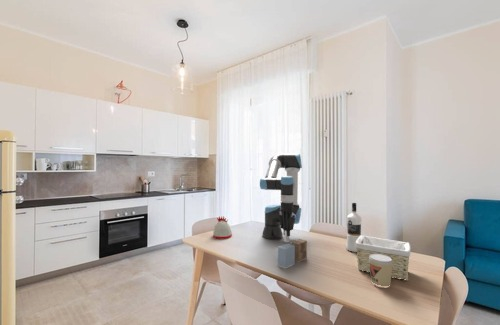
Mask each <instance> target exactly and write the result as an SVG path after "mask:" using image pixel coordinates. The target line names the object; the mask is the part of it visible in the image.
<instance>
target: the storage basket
mask: <svg viewBox="0 0 500 325" xmlns="http://www.w3.org/2000/svg"><path fill="white" fill-rule="evenodd" d="M355 244H356V249H357V253H356V259H357V269H359V270H358V271H360V270H363V271H368V272H367V273H369V272H370V259H369V257H370V255H371V254H381V255H385V256H388V257H390V258H391V259H392V261H393V263H392V273H391V277H396V278H401V279H406V280H407V281H408V280H409V263H410V257H411V244H410V242H406V241H401V240H400V241H399V240H393V239H387V238H379V237H375V236H369V235H364V234H363V235H362V234H361V236H360V237H359V238H358V239H357V240H356V242H355ZM363 271H362V272H363Z"/></svg>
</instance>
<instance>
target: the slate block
mask: <svg viewBox="0 0 500 325" xmlns="http://www.w3.org/2000/svg"><path fill="white" fill-rule="evenodd" d="M295 262H296V261H295V246H294V245H291V243H285V244H282V245H280V246H277V266H278V267H280V268H283V269H288V268H290V267H292V266H293V265H295Z"/></svg>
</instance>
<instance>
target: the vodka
mask: <svg viewBox="0 0 500 325" xmlns="http://www.w3.org/2000/svg"><path fill="white" fill-rule="evenodd" d="M346 223H347V224H346V225H347V228H346V230H347V231H346V236H347V238H346V244H345V249H346V250H347V251H348V250H349V252H350V251H352V252H351V253H356V252H357V249H356V244H355V242H356V240H357V239H358V238H359V237H360V236H361V235H362V217H361V215H359V213H357V203H356V202H351V212H350V213H349V214H347V217H346Z"/></svg>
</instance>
